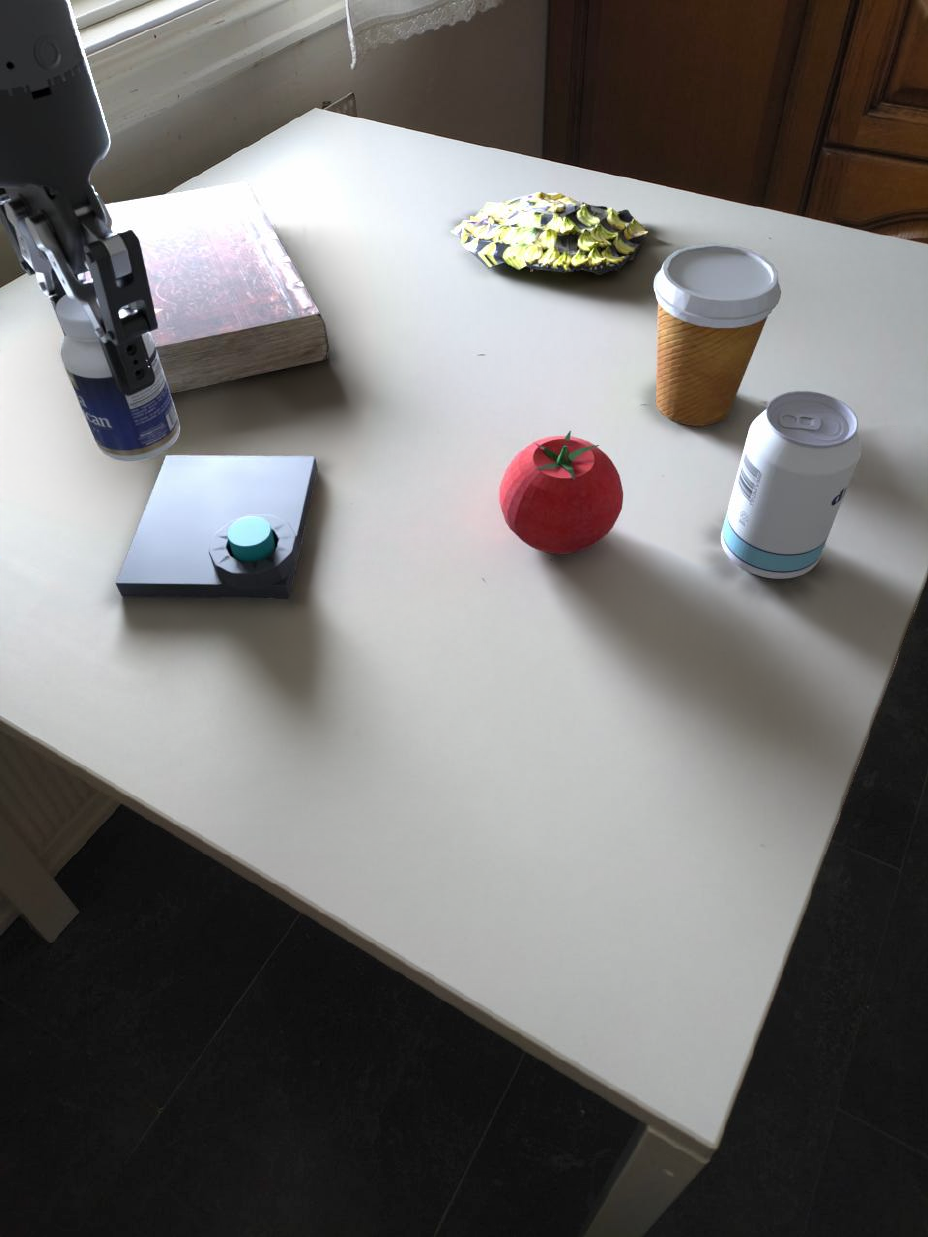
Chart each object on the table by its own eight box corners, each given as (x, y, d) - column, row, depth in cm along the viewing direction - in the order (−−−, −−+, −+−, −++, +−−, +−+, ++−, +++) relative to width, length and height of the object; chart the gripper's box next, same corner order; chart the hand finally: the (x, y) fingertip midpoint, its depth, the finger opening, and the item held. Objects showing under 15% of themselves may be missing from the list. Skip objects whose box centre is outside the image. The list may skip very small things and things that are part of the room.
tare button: (271, 562, 62) (266, 546, 61) (227, 562, 62) (222, 546, 61) (278, 532, 64) (274, 516, 63) (236, 532, 64) (232, 516, 63)
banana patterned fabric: (424, 271, 94) (420, 202, 91) (494, 245, 106) (493, 184, 103) (605, 282, 86) (608, 207, 82) (659, 253, 98) (663, 187, 95)
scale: (294, 604, 63) (287, 574, 61) (119, 601, 63) (105, 572, 61) (323, 469, 72) (318, 439, 70) (170, 468, 73) (160, 438, 71)
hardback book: (330, 358, 83) (322, 308, 79) (122, 407, 78) (104, 357, 75) (258, 222, 100) (248, 176, 97) (85, 256, 96) (69, 210, 92)
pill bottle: (80, 445, 59) (21, 308, 51) (143, 404, 62) (95, 268, 54) (136, 475, 57) (84, 336, 49) (198, 430, 60) (157, 293, 52)
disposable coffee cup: (755, 381, 79) (789, 249, 70) (743, 447, 73) (779, 312, 64) (647, 364, 81) (667, 233, 72) (627, 427, 75) (645, 293, 66)
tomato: (544, 477, 71) (549, 392, 65) (640, 525, 67) (655, 439, 61) (474, 539, 67) (472, 454, 61) (572, 594, 63) (581, 508, 57)
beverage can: (815, 596, 62) (870, 460, 53) (713, 578, 64) (750, 442, 55) (817, 529, 67) (869, 393, 57) (722, 514, 68) (758, 377, 59)
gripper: (-136, 39, 44) (4, 345, 57) (-13, 119, 37) (115, 447, 50) (9, 4, 47) (111, 301, 60) (148, 71, 40) (230, 391, 53)
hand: (113, 366), depth 55 cm, fingers closed on pill bottle, 5 cm apart
